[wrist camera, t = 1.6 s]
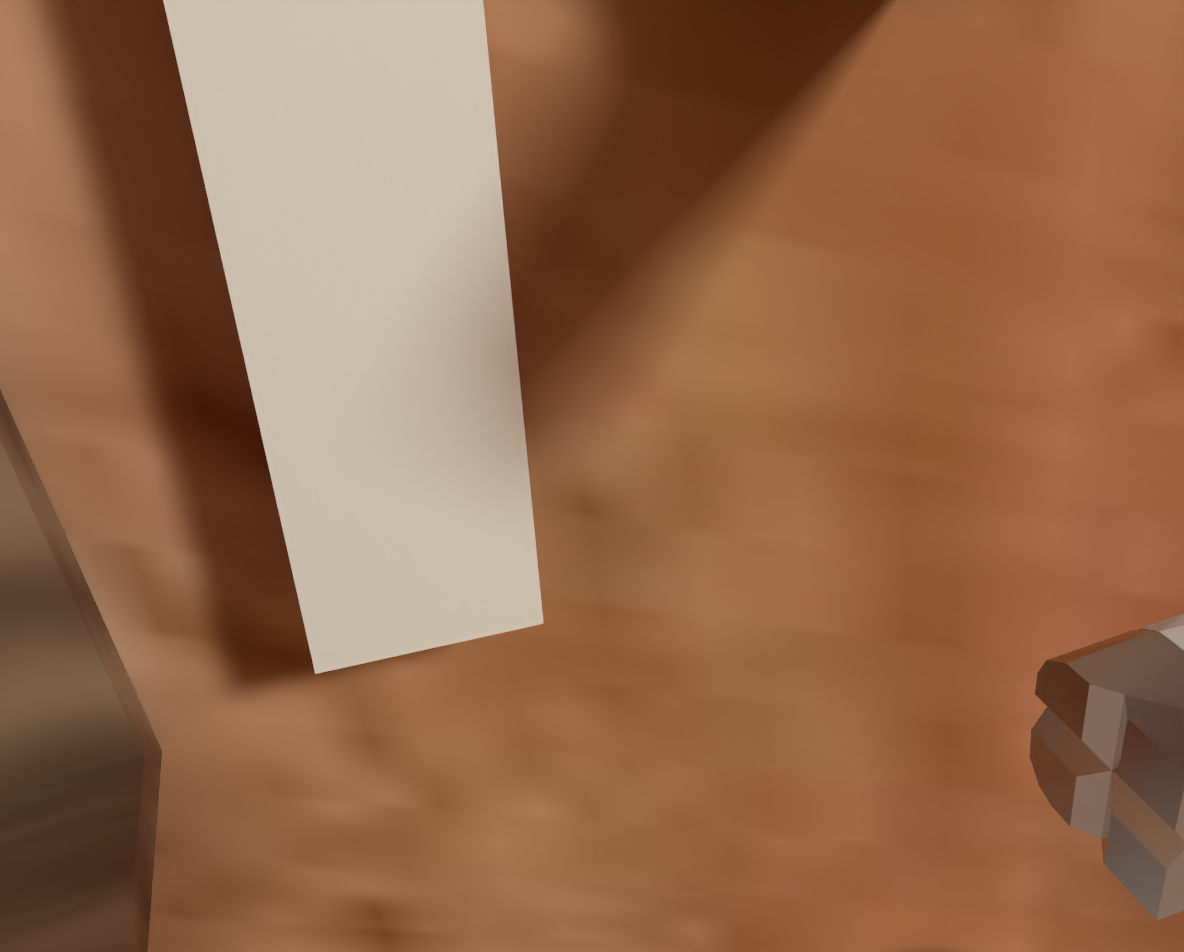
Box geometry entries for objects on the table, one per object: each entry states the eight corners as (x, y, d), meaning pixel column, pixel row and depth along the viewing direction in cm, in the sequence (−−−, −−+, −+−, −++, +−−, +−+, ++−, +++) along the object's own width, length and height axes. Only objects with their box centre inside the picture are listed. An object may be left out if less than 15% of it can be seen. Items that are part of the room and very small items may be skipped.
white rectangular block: (510, 547, 33) (543, 623, 29) (305, 589, 32) (315, 674, 28) (421, -255, 23) (455, -281, 20) (121, -244, 22) (102, -269, 18)
